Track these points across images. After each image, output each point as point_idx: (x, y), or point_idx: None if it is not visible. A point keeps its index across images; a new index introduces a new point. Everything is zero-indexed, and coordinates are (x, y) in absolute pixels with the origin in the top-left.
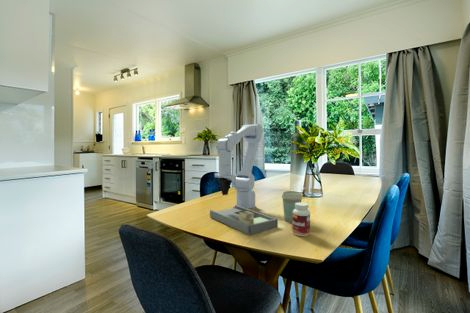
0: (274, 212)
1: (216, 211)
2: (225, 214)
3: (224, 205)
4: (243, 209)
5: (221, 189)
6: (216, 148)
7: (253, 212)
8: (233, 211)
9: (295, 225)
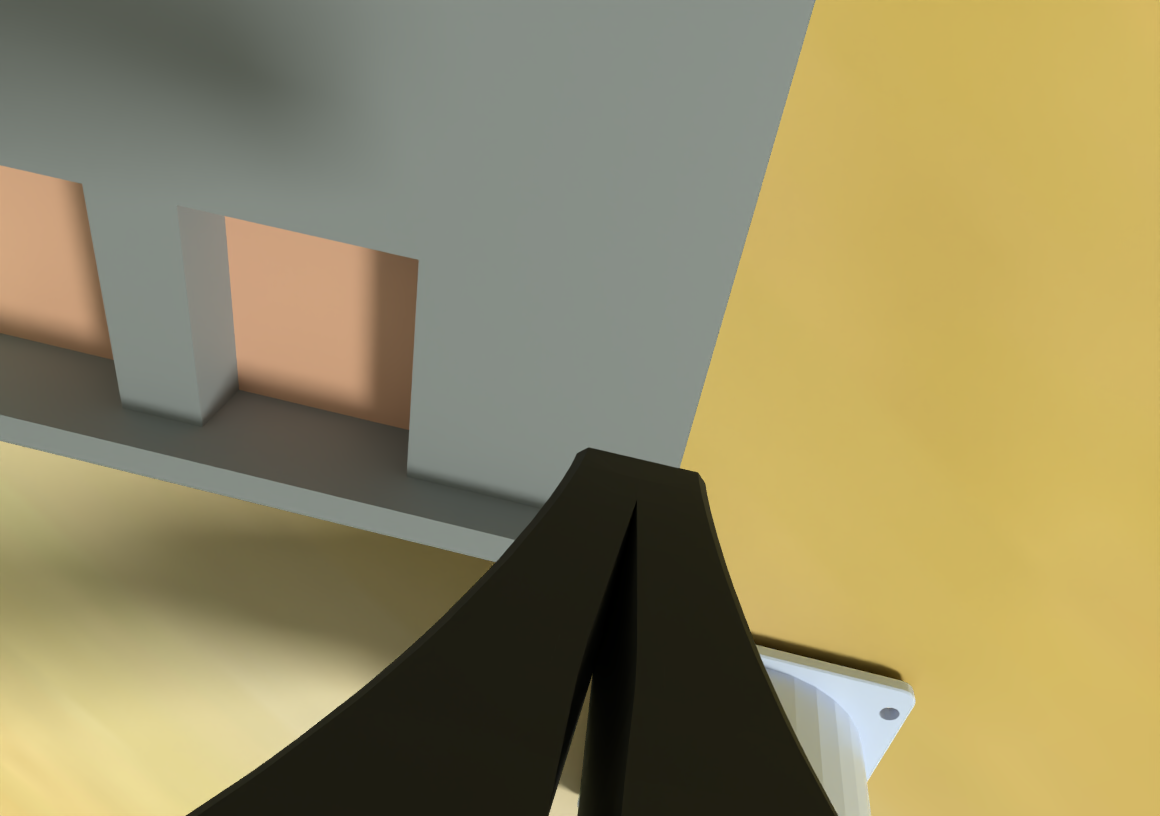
0: (255, 727)
1: (791, 53)
2: (406, 13)
3: (1144, 694)
4: (373, 488)
5: (699, 610)
6: None
7: (77, 422)
8: (479, 330)
9: None
